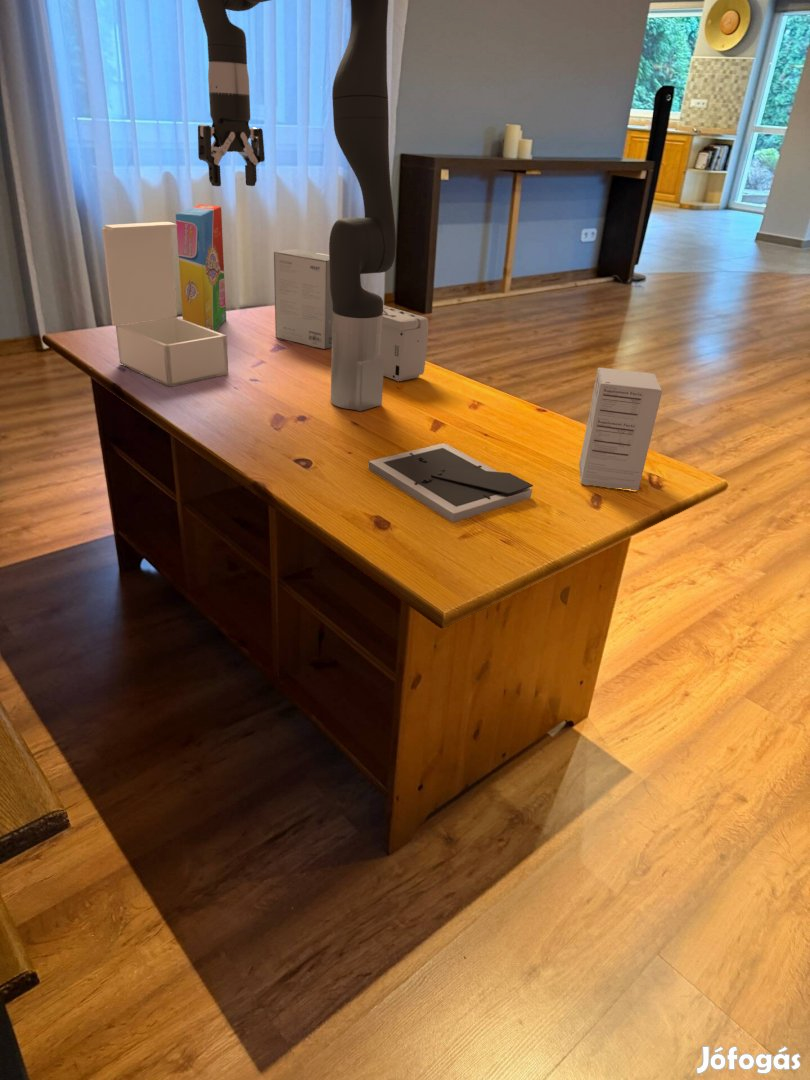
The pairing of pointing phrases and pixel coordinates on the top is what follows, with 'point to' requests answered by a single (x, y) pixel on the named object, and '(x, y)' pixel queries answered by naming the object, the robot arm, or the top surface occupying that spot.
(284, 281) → the hard drive box
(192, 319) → the game box
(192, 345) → the mailer box
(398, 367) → the stereo radio cassette player
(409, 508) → the top surface
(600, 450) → the supplement box
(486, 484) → the picture frame
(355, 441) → the top surface
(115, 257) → the mailer lid
